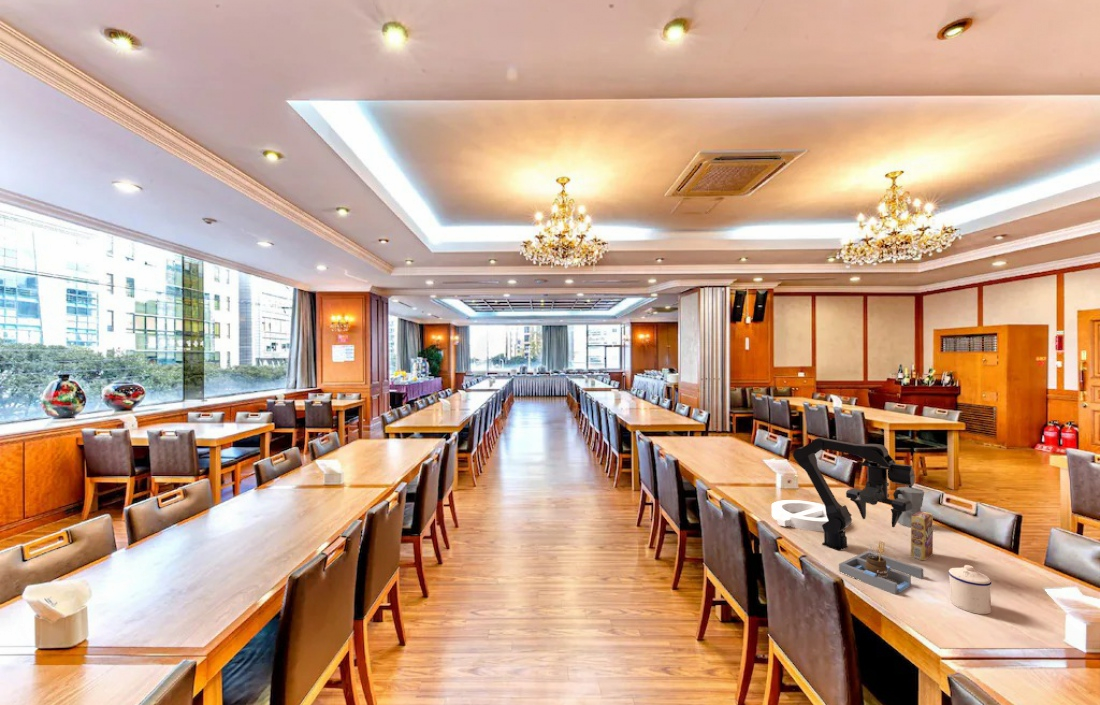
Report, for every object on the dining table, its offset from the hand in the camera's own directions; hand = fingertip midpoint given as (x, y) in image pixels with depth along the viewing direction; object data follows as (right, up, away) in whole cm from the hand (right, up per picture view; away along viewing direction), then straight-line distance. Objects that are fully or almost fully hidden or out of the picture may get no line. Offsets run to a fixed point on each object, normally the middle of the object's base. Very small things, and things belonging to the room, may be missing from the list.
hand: (878, 522), depth 158 cm
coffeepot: (+37, -14, +32) cm, 51 cm away
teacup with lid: (+4, -13, -29) cm, 32 cm away
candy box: (+17, -13, +2) cm, 22 cm away
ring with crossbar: (-3, -14, +39) cm, 42 cm away
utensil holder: (-12, -13, -15) cm, 23 cm away
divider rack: (-8, -13, -13) cm, 20 cm away
